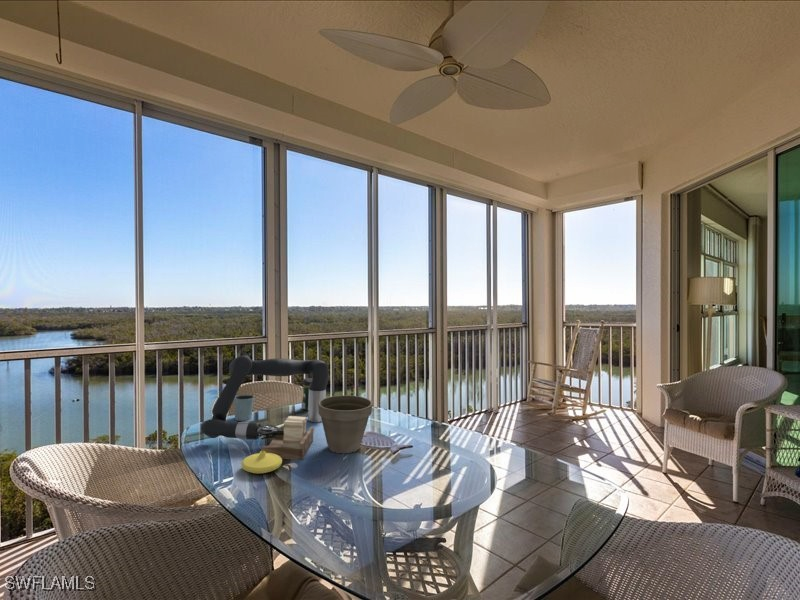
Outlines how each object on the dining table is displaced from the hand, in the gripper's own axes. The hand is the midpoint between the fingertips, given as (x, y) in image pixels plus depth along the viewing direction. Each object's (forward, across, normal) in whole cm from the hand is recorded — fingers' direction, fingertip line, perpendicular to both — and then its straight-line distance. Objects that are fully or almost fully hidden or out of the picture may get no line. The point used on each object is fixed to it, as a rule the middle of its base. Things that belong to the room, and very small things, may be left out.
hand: (286, 432), depth 188 cm
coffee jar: (-3, +62, +8) cm, 62 cm away
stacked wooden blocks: (+4, 0, +6) cm, 7 cm away
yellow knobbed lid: (-4, -21, +8) cm, 23 cm away
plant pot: (+26, +5, +8) cm, 27 cm away
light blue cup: (-34, +38, +8) cm, 51 cm away
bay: (+1, 0, +7) cm, 8 cm away
